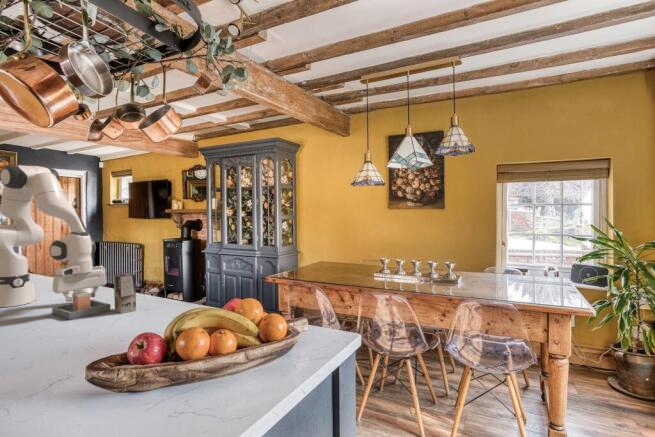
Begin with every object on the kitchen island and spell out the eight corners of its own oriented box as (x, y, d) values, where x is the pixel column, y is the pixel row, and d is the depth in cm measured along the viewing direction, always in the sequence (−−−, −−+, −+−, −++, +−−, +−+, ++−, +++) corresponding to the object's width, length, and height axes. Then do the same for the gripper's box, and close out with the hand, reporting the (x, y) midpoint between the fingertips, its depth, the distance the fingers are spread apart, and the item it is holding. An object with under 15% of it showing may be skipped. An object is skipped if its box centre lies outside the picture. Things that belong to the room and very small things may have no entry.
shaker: (72, 311, 158) (72, 293, 158) (85, 309, 162) (84, 291, 162) (78, 313, 155) (77, 295, 155) (90, 310, 160) (90, 292, 159)
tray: (52, 314, 157) (52, 307, 157) (92, 305, 170) (92, 299, 170) (69, 320, 148) (69, 313, 148) (110, 310, 161) (110, 304, 161)
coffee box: (136, 310, 161) (135, 274, 161) (121, 313, 156) (120, 277, 156) (129, 307, 167) (128, 272, 167) (114, 309, 163) (113, 274, 162)
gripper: (102, 264, 169) (102, 293, 169) (50, 271, 152) (51, 303, 152) (108, 265, 166) (109, 295, 166) (56, 272, 148) (57, 305, 149)
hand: (81, 299), depth 159 cm, fingers open, 8 cm apart
